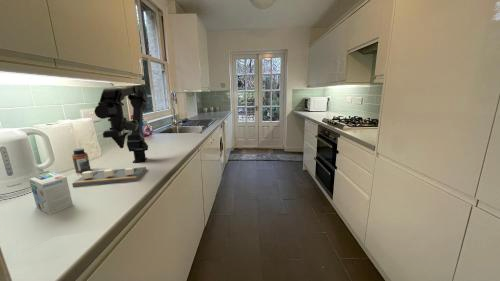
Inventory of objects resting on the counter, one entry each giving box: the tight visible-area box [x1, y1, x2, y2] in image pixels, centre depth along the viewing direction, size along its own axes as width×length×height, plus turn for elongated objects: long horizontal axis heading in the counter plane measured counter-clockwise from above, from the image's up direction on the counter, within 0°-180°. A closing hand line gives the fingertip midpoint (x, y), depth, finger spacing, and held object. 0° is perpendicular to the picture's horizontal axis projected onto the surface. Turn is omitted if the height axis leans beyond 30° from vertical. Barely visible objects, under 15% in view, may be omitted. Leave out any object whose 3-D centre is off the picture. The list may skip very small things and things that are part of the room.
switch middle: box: [104, 168, 114, 177], centre depth 91 cm, size 2×3×3 cm, turn 101°
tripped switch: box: [125, 167, 135, 175], centre depth 93 cm, size 2×3×3 cm, turn 101°
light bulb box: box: [28, 171, 74, 215], centre depth 70 cm, size 11×7×11 cm, turn 62°
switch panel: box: [71, 166, 147, 188], centre depth 95 cm, size 14×25×2 cm, turn 101°
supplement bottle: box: [71, 148, 91, 174], centre depth 102 cm, size 6×6×11 cm
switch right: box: [81, 170, 93, 179], centre depth 90 cm, size 2×3×3 cm, turn 101°
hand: (122, 148), depth 99 cm, fingers closed
